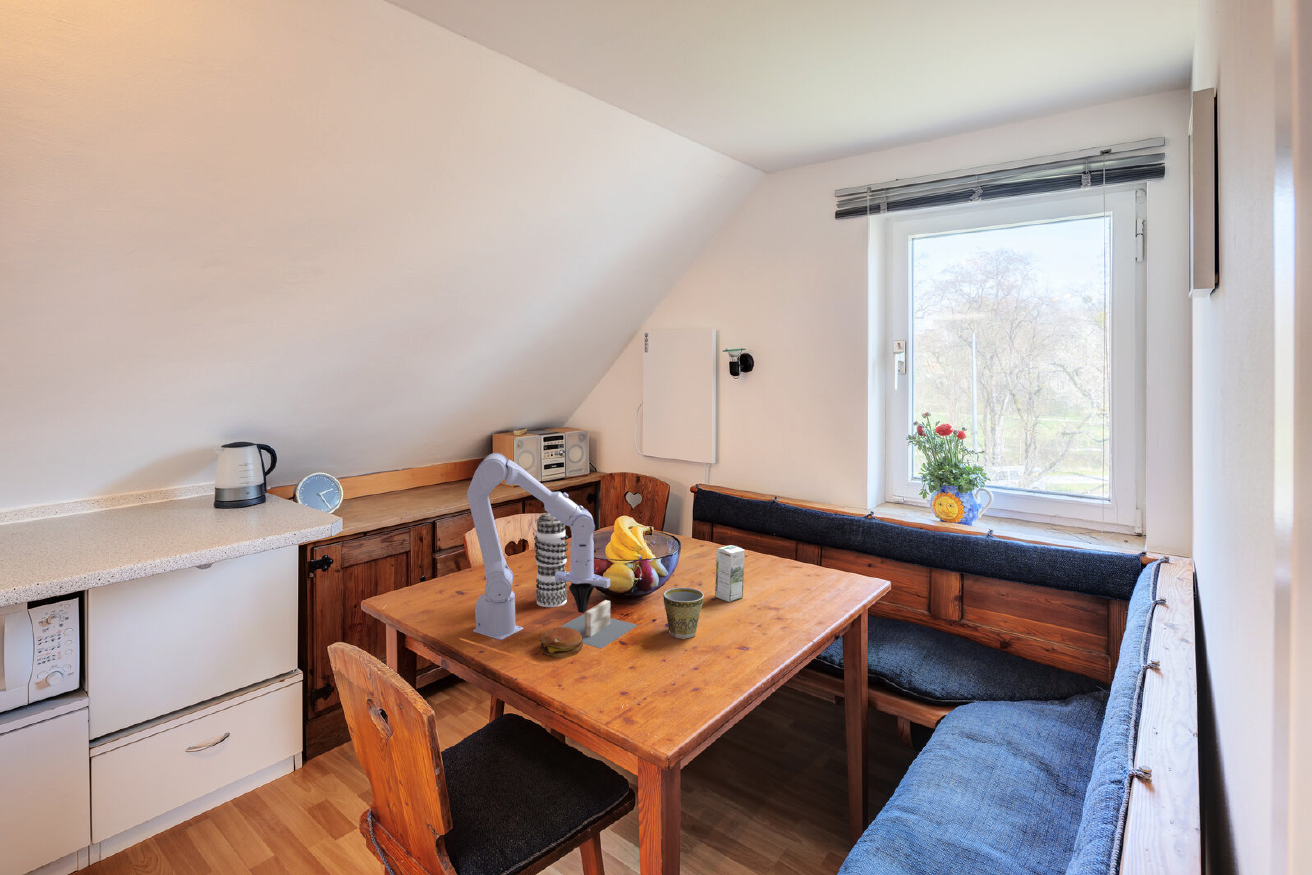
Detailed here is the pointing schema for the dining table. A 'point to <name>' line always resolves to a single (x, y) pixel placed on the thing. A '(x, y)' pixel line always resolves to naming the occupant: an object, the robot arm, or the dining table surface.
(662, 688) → the dining table surface
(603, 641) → the mat
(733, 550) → the syrup box
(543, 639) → the burger
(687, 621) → the ceramic cup
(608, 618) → the tile
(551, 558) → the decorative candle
